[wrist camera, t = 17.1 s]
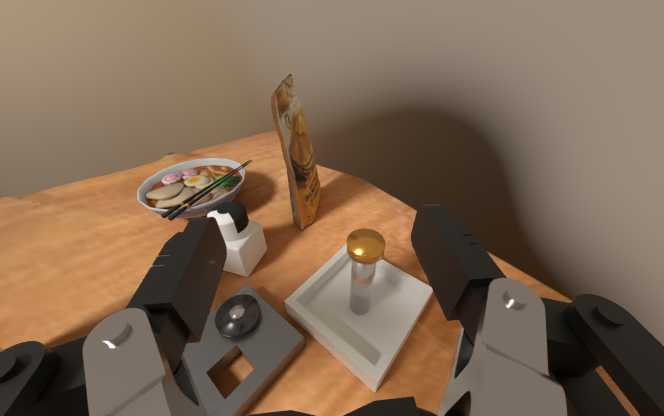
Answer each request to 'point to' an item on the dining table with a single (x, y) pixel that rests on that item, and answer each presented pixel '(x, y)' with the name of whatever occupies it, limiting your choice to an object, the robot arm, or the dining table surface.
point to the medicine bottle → (239, 237)
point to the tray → (360, 330)
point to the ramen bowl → (192, 187)
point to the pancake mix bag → (296, 153)
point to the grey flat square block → (241, 351)
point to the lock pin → (363, 266)
